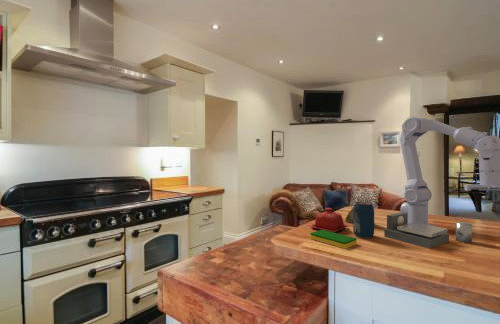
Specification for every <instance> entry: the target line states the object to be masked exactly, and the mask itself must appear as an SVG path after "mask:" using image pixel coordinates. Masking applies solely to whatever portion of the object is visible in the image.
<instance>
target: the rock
mask: <svg viewBox="0 0 500 324" xmlns="http://www.w3.org/2000/svg"><path fill="white" fill-rule="evenodd" d="M359 202H364V201H362V200H359ZM353 215H354V206H353V207H351V209H350V210H349V212H348V213H347V215H346V217H345V222H347V223H351V224H353ZM374 225H375V222H374Z"/></svg>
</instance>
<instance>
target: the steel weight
mask: <svg viewBox="0 0 500 324" xmlns="http://www.w3.org/2000/svg"><path fill="white" fill-rule="evenodd" d="M455 241H456V242H458V241H459V242H458V243H462V242H464V243H465V244H472V243H473V223H471V222H465V221H456V222H455Z"/></svg>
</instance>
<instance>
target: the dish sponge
mask: <svg viewBox="0 0 500 324" xmlns="http://www.w3.org/2000/svg"><path fill="white" fill-rule="evenodd" d="M309 238H311V239H310V240H313V239H314V240H313V241H316V240H317V241H318V242H320V243H323V242H324V244H327V245H330V246H333V245H334V247H338V248H341V249H348V248H351V247H353V245H354V246H356V245H357V244H358V243H357V239H358V238H357V237H353V236H348V235H344V234H341V233H336V232H329V231H325V230H320V229H318V230H316V231H312V232H310V235H309Z"/></svg>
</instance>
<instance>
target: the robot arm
mask: <svg viewBox="0 0 500 324" xmlns="http://www.w3.org/2000/svg"><path fill="white" fill-rule="evenodd" d="M432 131H434V132H437V133H441V134H444V135H447V136H451V137H453V139H454V141H455V142H456V143H459V144H461V145H464V146H467V147H469V148H473V149H475V150H476V151H477V152H478V168H479V169H478V171H479V183H478V184H464V191H466V193H467V195H468V196H469V198H470V200H471V201H472V203H473V207H474V209H475V212H477V213H482V211H483V210H482V209H483V207H482V200H483V192H481V191H500V137H499V136H497V135H488V132H485V131H483V132H482V131H479V130H475V129H473V127H472V126H467V127H466V126H462V127H460V128H457V127H454V126H452V125H449V124H446V123H444V122H441V121H438V120H434V119H429V118H425V117H415V116H410V117H407V118H406V119H405V120H404V121H403V123H402V124H401V134H400V138H399V144H400V148H401V153H402V154H401V155H402V158H403V163H404V164H403V165H404V168H405V174H406V177H407V182H406V184H405V185H404V194H403V195H404V200H405V201H406V202H405V201H404V202H402V204H401V206H400V212H406V213H408V224H409V223H413V222H415V223H420V224H425V225H430V226H433V224H432V223H431V224H430V223H429V201H430V200H431V199H432V196H433V195H432V191H431V190H430V188H429V187H428V183H427V182H426V181H425V180H424V179H423V173H422V169H421V164H420V159H419V155H418V149H417V145H416V142H417V141H418V140H419V138H420V137H422V136H424V135H426V134H427V133H428V132H432Z"/></svg>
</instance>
